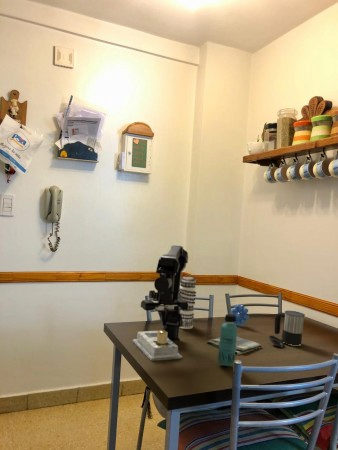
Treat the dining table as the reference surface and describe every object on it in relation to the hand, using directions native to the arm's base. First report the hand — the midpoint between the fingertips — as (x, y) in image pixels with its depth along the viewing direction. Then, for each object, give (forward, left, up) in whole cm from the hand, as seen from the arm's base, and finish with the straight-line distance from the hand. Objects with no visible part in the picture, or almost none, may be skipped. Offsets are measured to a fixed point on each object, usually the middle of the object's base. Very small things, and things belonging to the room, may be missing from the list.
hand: (163, 326), depth 153 cm
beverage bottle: (-20, +17, -12) cm, 29 cm away
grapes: (-58, -29, -12) cm, 66 cm away
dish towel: (-37, -3, -12) cm, 39 cm away
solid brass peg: (0, 0, -10) cm, 10 cm away
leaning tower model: (-27, -33, -12) cm, 44 cm away
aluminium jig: (0, -5, -11) cm, 12 cm away
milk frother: (-63, 0, -12) cm, 65 cm away
